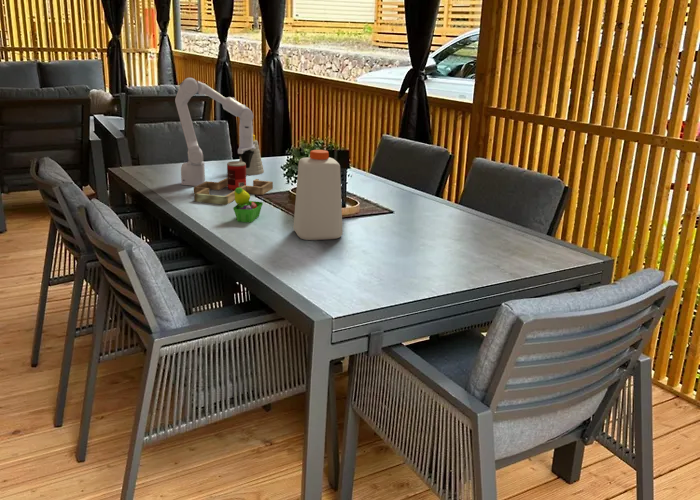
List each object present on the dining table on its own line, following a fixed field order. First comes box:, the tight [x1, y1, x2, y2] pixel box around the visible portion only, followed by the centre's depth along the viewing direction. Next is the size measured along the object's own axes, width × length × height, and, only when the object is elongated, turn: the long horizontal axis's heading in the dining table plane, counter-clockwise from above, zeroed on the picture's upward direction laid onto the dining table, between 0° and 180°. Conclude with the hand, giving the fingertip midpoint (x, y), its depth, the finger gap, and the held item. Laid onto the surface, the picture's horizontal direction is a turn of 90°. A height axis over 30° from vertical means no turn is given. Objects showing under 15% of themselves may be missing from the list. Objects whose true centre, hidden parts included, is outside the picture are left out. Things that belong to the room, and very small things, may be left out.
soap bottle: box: [238, 134, 265, 176], centre depth 308 cm, size 12×12×20 cm
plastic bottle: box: [292, 149, 343, 241], centre depth 218 cm, size 15×15×28 cm
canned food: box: [226, 160, 247, 192], centre depth 277 cm, size 8×8×11 cm
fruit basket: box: [232, 187, 264, 223], centre depth 235 cm, size 11×9×11 cm
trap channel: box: [193, 177, 274, 206], centre depth 270 cm, size 26×34×3 cm
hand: (246, 167), depth 287 cm, fingers closed
